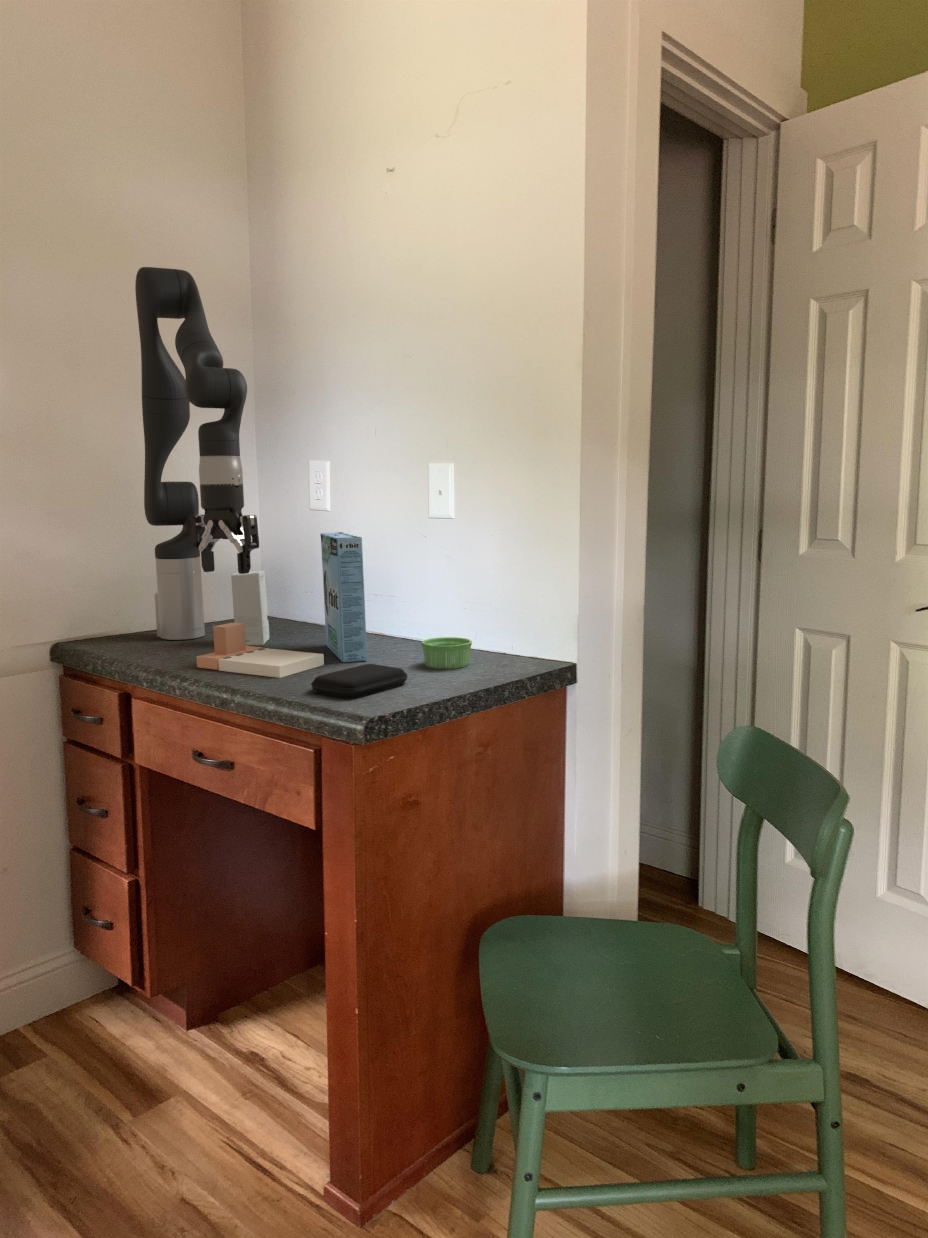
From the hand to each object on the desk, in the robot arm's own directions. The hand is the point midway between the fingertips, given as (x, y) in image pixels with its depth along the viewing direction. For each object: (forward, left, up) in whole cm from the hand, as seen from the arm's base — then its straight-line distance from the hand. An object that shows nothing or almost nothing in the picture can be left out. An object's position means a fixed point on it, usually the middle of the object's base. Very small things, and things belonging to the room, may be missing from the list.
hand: (226, 572), depth 164 cm
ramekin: (+37, +16, -17) cm, 44 cm away
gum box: (+13, +17, -17) cm, 28 cm away
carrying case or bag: (+33, -6, -17) cm, 38 cm away
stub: (0, 0, -17) cm, 17 cm away
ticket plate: (+10, 0, -17) cm, 19 cm away
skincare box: (-11, +18, -17) cm, 27 cm away
